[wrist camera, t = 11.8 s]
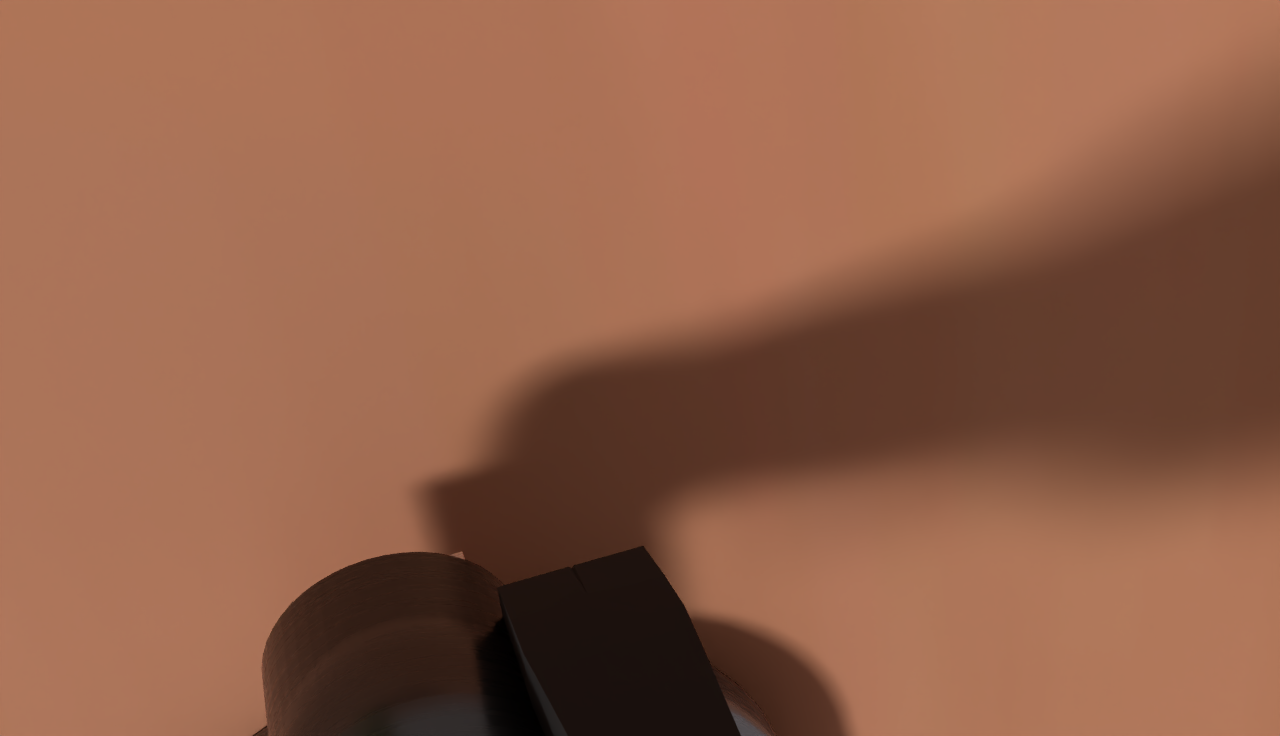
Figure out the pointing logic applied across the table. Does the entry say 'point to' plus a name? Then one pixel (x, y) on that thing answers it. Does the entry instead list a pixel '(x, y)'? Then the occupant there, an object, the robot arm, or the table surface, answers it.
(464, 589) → the crank
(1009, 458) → the table surface
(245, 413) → the table surface
